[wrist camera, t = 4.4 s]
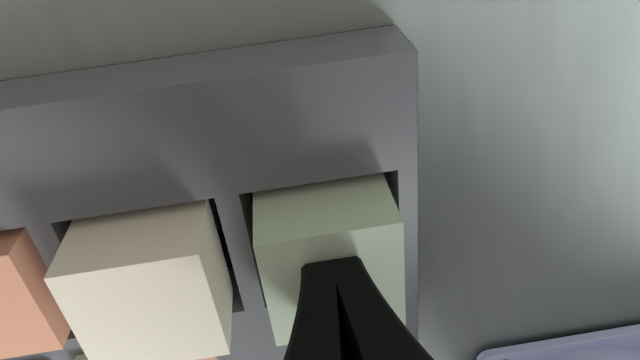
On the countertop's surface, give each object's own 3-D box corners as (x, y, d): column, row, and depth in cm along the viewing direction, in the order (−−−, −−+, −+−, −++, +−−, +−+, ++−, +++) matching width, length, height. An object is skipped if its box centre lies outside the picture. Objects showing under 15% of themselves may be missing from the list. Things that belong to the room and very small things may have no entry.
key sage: (380, 167, 13) (403, 222, 11) (385, 263, 15) (405, 325, 13) (252, 187, 13) (252, 246, 11) (273, 281, 15) (276, 346, 13)
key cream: (207, 194, 13) (198, 254, 11) (233, 287, 15) (230, 354, 13) (75, 214, 13) (43, 279, 11) (118, 306, 15) (97, 376, 13)
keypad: (395, 24, 13) (421, 54, 11) (402, 304, 18) (420, 357, 16) (-385, 135, 12) (-507, 188, 10) (-134, 391, 17) (-183, 458, 15)
